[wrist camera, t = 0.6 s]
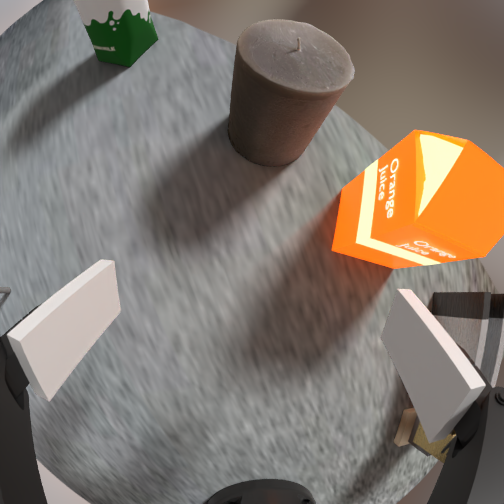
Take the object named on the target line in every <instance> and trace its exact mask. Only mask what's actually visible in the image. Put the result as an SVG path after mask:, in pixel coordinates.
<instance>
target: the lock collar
mask: <svg viewBox="0 0 504 504" xmlns="http://www.w3.org/2000/svg"><path fill="white" fill-rule="evenodd" d="M455 435H456V432H455V430H454V429H453V432H452V434H448V436H447V437H446V438H445V439H442V440H439V441H435V442H432V443H429V442H428V439H427V437H426V434H425V432H424V430H423V427H422V425H421V422H420V423H419V426H418V429H417V431H416V434H415V437H414V440H413V442H414V443H416V444H417V445H418V446H420V447H421V448H423V449H424V450H425V451H427V452H428V453H430V454H431V455H433V456H434V457H435V458H437V459H438V460H440V461H441V462H443V463H444V462H445V459H446V456H447V455H446V454H447V453H448V451H449V448H448V449H447V450H446V451H445V452H444V453H441V451H442V450H443V448H444V447H445V446H446V445H447V444H448V443H449V442H450V441H451V440H452V439H453V438H454V436H455Z"/></svg>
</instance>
